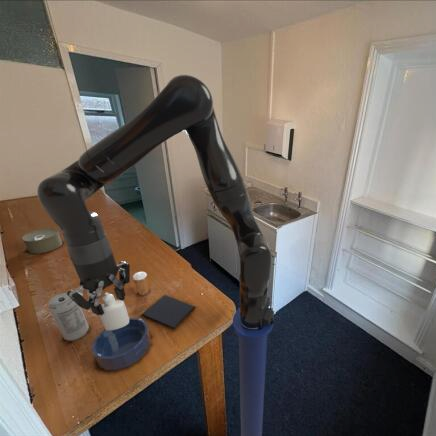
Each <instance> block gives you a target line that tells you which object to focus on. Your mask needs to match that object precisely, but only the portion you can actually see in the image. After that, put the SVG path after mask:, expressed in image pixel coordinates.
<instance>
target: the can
mask: <svg viewBox="0 0 436 436" xmlns="http://www.w3.org/2000/svg"><path fill="white" fill-rule="evenodd" d="M21 240H22V242H23V243H24V245H25V247H26V248H27V251H28V253H31V254H43V253H48V252H51V251H52V252H53V251H54V250H57V249H58V248H60V247H62V245H63V241H62V239H61V236H60V233H59V230H58V229H57V228H43V229H36V230H34V231H31V232H28V233H26V234H24V235H23V236H22V238H21Z"/></svg>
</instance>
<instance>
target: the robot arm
mask: <svg viewBox="0 0 436 436" xmlns="http://www.w3.org/2000/svg"><path fill="white" fill-rule="evenodd" d="M184 131H185V133H186V134H187V136H188V138H189V140H190V142H191V144H192V146H193V149H194V151H195V155H196V158H197V161H198V165H199V168H200V171H201V176H202V178H203V181H204V183H205V186H206V188H207V191H208V194H209V195H210V197H211V199H212V201H213V203H214V205H215V207H216V209H217V210H218V211H219V212H220V214H221V216H223V218H224V219H225V220H226V221H227V222H228V224H229V225H230V226H229V227H230V228H231V230H232V233H233V235H234V238H235V241H236V245H237V250H238V256H239V268H240V269H239V271H240V272H239V278H238V279H239V308H240V323H241V325H242V326H243V327H244V328H245V329H248V330H257V329H259V330H262V328H263V326H264V325H265V324H266V325H268V326H269V325H270V324H273V325H274V324H275V322H276V321H275V317H274V316H275V311H274V310H272V309H270V297H269V295H268V294H269V280H270V278H271V273H272V272H271V271H272V260H273V259H272V257H273V256H272V255H273V254H272V251H271V248H270V246H269V244H268V240H267V238H266V237H265V235H264V234H263V232H262V230H261V229H260V227H259V225H258V223H257V221H256V219H255V215H254V213H253V206H252V202H251V198H250V194H249V190H248V188H247V185H246V183H245V181H244V178H243V176H242V172H241V170H240V169H239V167H238V165H237V164H238V163H237V162H236V160H235V158H234V156H233V155H232V153H231V151H230V148H228V146H227V144H226V142H225V140H224V137H223V134H222V132H221V129H220V125H219V123H218V118H217V116H216V112H215V108H214V99H213V96H212V93H211V91H210V89H209V87H207V85H206V83H204V82H203V81H202V80H201V79H199V78H197V77H195V76H193V75H189V74H179V75H175V76H173V77H172V78H171V79H170V80H169V81H168V82H167V83H166V85H165V86H164V88H163V89H162V90H161V91H160V92H159V93H158V94H157V95H156V96H155V98H154V99H153V100H152V101H151V102H150V103H149V104H148V105H146V107H145V108H144V109H143V110H141V111H140V112H139V113H138V114H137V115H136V116H134V117H133V118H132V119H130V120H129V121H127V122H126V123H125V124H123V125H121V126H120V127H118V128H117V129H115V130H114V131H113V132H111V133H109V134H108V135H106V136H105V137H103V138H101V139H100V140H99V141H97V142H96V143H95V144H93V145H92V146H91V147H89V148H88V149H86V150H85V151H84V152H83V153H82V154H81V155H80V156H79V158H78V159H77V160H75V161H74V162H73V163H72V164H70V165H68V166H67V167H65V168H63V169H61V170H60V171H59V172H58V171H57V172H56V173H54V174H52V175H50V176H48V177H46V178H44V179H43V180H41V182H40V183H39V184H38V186H37V189H36V193H37V199H38V201H39V203H40V205H41V207H42V208H43V210H44V211H45V212H46V213H47V215H48V216H49V217H50V218H51V219H52V221H53V222H54V223H55V224H56V225H57V226H58V227H59V228H60V232H61V235H62V237H63V238H64V241H65V243H66V247H67V252H68V255H69V259H70V261H71V262H72V264H73V267H74V269H75V271H76V274H77V276H78V278H79V286H77V287H76V288H75V289H74V290H73V289H70V290H67V292H66V293H67V295H68V296H69V297H70V298H71V299H72V300H73V301H74V302H75V303H76V304H77V305H78V306H79V307H81V309H84V310H86V311H87V310H91V312H92V313H93V314H94V315H96V316H100V315H103V314H104V311H103V308H102V306H101V305H102V303H100V301H101V297H103V291H104V290H105V289H106V288H108V287H110V286H112V287H113V291H114V293H115V296H116V300H122V301H124V300H126V292H125V286H126V284H129V283H130V282H131V281H130V280H131V275H130V274H131V273H130V263H128V262H126V261H119V263H116V262H117V261H116V259H115V256H114V252H113V249H112V246H111V243H110V240H109V238H108V237H107V234H106V232H105V229H104V225H103V223H102V220H101V218H100V216H99V214H97V213H96V212H94V211H91V210H89V208H88V206H87V203H86V201H87V200H88V199H89V198H91V197H92V196H93V195H95V194H96V193H97V192H98V191H100V189H102V188H103V187H105V186H106V185H107V184H108V183H111V182H112V181H113V182H114V181H115V180H116V179H118V178H119V177H120V176H123V174H125V173H126V172H128V171H129V170H130V169H132V168H133V167H135V166H136V165H137V164H138V163H140V161H142V160H143V159H144V158H146V156H147V155H149V154H150V153H151V152H152V151H154V150H155V149H156V148H157V147H159V146H160V145H161V144H163V143H164V142H166V141H168V140H170V139H171V138H172V137H174V136H176V135H178V134H180V133H182V132H184ZM117 276H118V278H117ZM85 290H86V295H87V300H86V299H85V298H84V297H85V293H84V291H85ZM273 317H274V319H273ZM271 320H272V321H271Z"/></svg>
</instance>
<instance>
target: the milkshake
mask: <svg viewBox="0 0 436 436" xmlns="http://www.w3.org/2000/svg"><path fill="white" fill-rule="evenodd" d="M132 280H133V283H134V285H135V288H136V290H137V293H138V294H139V295H140V296H144V295H147V294H148V293H149V284H148V275H147V272H145V271H138V272H135V273H134V274H133V275H132Z"/></svg>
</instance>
